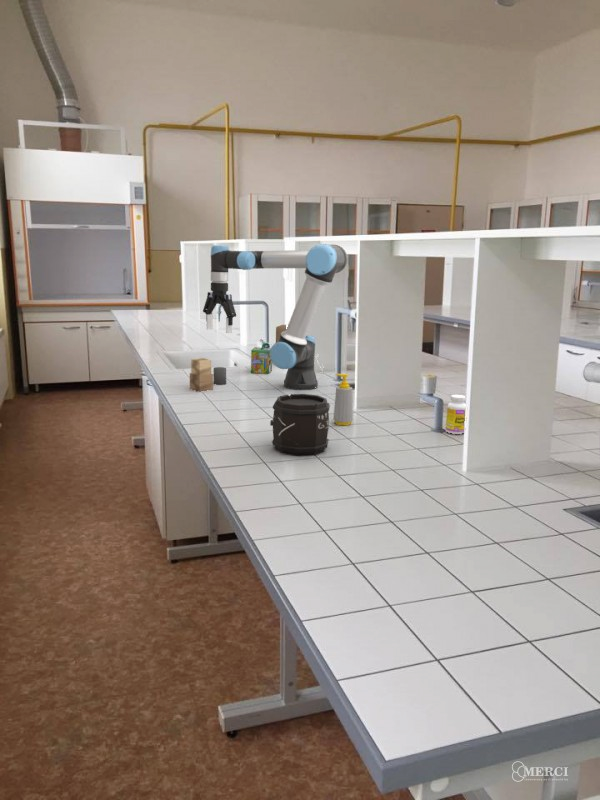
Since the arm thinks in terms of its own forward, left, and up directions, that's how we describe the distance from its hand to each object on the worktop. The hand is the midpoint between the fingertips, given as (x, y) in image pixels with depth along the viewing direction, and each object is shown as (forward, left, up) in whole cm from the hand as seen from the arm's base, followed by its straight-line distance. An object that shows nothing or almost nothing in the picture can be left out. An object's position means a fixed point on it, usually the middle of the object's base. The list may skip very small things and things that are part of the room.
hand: (219, 331), depth 297 cm
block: (+18, -59, -24) cm, 66 cm away
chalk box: (+9, -33, -24) cm, 42 cm away
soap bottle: (-81, +9, -24) cm, 85 cm away
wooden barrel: (-92, +42, -24) cm, 104 cm away
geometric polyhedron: (-7, -52, -24) cm, 58 cm away
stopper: (0, 0, -24) cm, 24 cm away
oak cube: (-5, +14, -17) cm, 22 cm away
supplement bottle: (-114, -12, -24) cm, 117 cm away
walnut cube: (-5, +14, -24) cm, 28 cm away
